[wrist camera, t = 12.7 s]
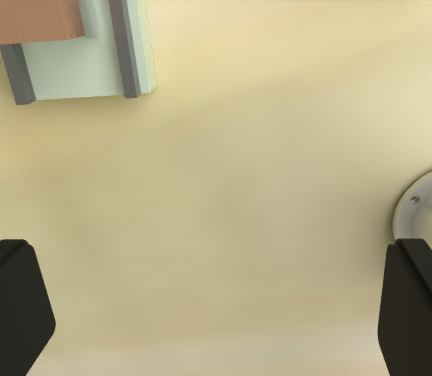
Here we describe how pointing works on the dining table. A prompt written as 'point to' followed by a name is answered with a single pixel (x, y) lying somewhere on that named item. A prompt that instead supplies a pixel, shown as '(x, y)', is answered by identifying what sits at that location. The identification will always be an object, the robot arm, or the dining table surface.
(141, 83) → the stand
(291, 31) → the dining table surface
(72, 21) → the block
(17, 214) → the dining table surface
